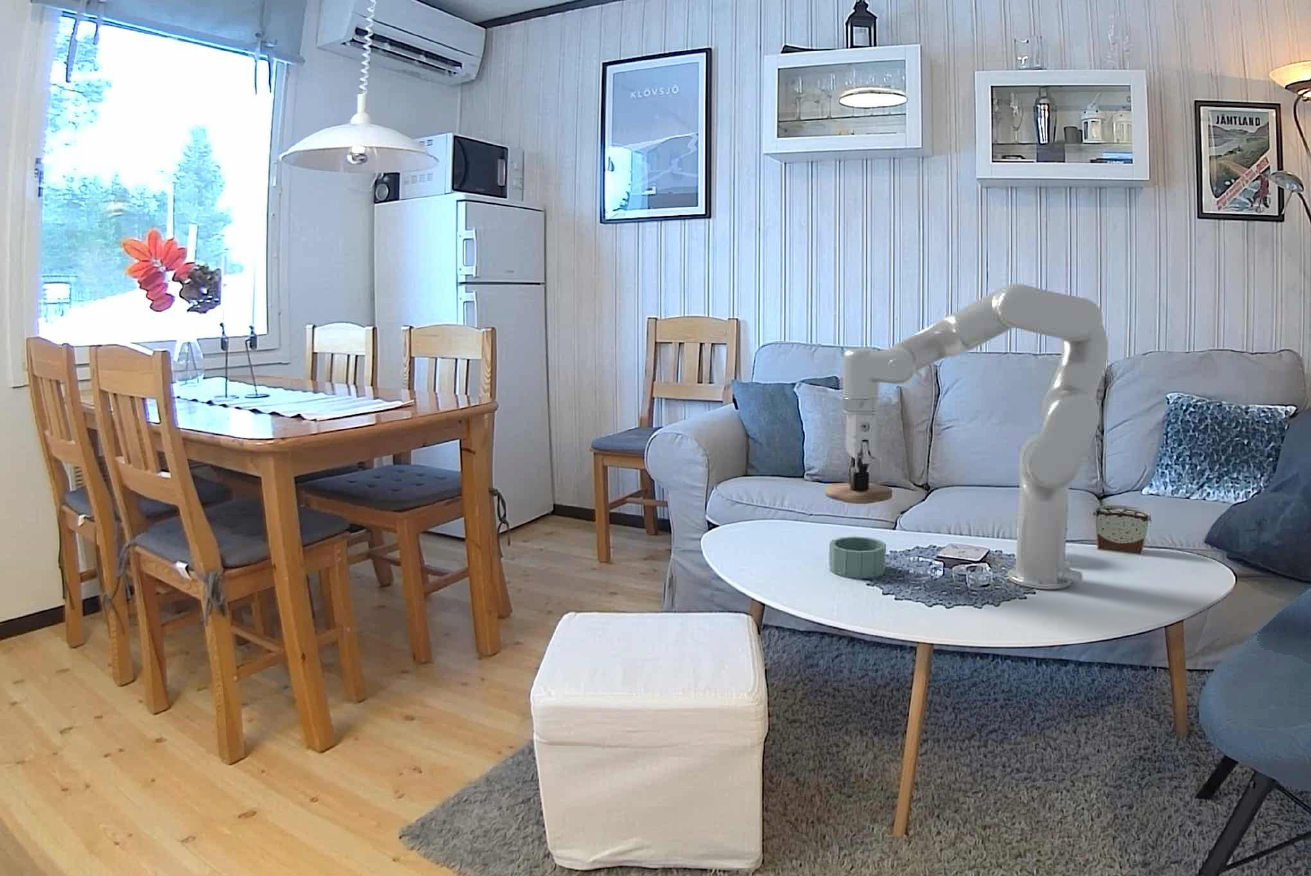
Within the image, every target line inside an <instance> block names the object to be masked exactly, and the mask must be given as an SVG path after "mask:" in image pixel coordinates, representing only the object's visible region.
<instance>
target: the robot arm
mask: <svg viewBox="0 0 1311 876" xmlns="http://www.w3.org/2000/svg"><path fill="white" fill-rule="evenodd" d="M1015 328H1016V329H1020V330H1023V331H1026V332H1031V333H1034V334H1039V335H1043V336H1048V337H1053V338H1057V339H1060V343H1061V356H1060V360H1059V362H1058V366H1057V368H1056V371H1055V373H1054V375H1053V376H1054V377H1053V378H1052V381H1051V382H1050V386H1049V388H1048V390H1047V393H1046V395H1045V397H1044V400H1043V401H1042V405H1041V415H1042V418H1043V424H1042V427H1041V429H1040V430H1039V433H1038V434H1034V435H1032V436H1030V437H1029V438H1028V439H1027V440H1026V441H1025V442H1024V443H1023V444H1022V447H1021V450H1020V454H1019V465H1018V467H1019V497H1018V498H1019V501H1018V515H1017V522H1018V534H1017V533H1016V538H1017V539H1016V540H1017V541H1016V557H1015V559H1016V560H1015V567H1013V568H1010V569H1009V570H1008V571H1007V578H1008V580H1009V581H1011V582H1012V583H1014V584H1017V585H1019V586H1022V587H1026V588H1029V589H1030V588H1031V589H1037V590H1038V589H1039V590H1040V589H1041V590H1060V589H1065V588H1068V587H1070V586H1071V585H1072V583H1077V584H1081V583H1082V582H1083V574H1082V573H1083V572H1082V571H1080V570H1074V569H1071V568H1070V563H1071V562H1069V561H1066V546H1067V544H1066V543H1067V532H1068V526H1067V525H1068V513H1069V495H1070V493H1069V492H1070V488H1069V484H1071V483H1072V482H1073V480H1075V478H1076V477H1077V475H1078V473H1079V472H1080V470H1081V468H1082V465H1083V463H1084V460H1085V458H1086V455H1087V453H1088V452H1089V451H1088V450H1089V448H1090V446H1091V444H1092V441H1093V439H1094V436H1095V433H1096V431H1097V429H1098V425H1099V421H1100V409H1099V405H1098V404H1097V401H1096V400H1095V397H1096V393H1097V391H1098V389H1099V385H1100V383H1101V380H1102V377H1103V374H1104V372H1105V368H1106V365H1107V361H1108V356H1109V342H1108V336H1107V333H1106V330H1105V327H1104V325H1103V314H1102V311H1101V309H1100V307H1099V306H1098V305H1097V303H1095V302H1094V301H1092V300H1090V299H1088V298H1084V297H1080V296H1075V295H1069V294H1066V293H1065V294H1064V293H1061V292H1056V291H1050V290H1047V289H1041V288H1039V287H1035V286H1031V285H1028V284H1022V283H1010V284H1007V285H1005V286H1003V287H1001V288H998V289H997V290H996V291H993V292H991V293H990V294H988V295H985V296H983V297H981V298H980V299H978V300H977V301H974V302H973V303H970V304H969V305H967V306H965V307H963V308H961V309H959V310H957V311H955V312H953V313H952V314H949V315H948V316H946V317H944V318H942V319H940V320H939V321H937V322H936V323H934V324H932V325H931V326H928V327H926V328H924V329H922V330H920V331H919V332H916V333H915V334H913V335H911V336H909V337H907V338H905V339H903V340H902V341H899V342H897V343H896V344H893V345H892V346H890V347H888V349H886V350H876V349H875V348H868V347H867V348H865V347H861V348H860V347H859V348H858V347H857V348H849V349H847V350H846V351H845V352H844V353H843V367H842V368H843V370H842V371H843V372H842V381H843V382H842V413H843V414H846V423H845V424H846V425H845V428H846V429H845V449H846V452H847V453H848V455H849V470H848V471H849V472H848V473H849V474H848V475H849V476H848V477H849V478H848V479H849V480H848V482H849V485H850V478H851V467H855V472H854V485H853V489H854V490H855V491H867V490H868V489H869V483H870V479H869V478H870V458H871V459H872V460H876V459H877V456H878V454H877V453H878V450H877V448H878V447H877V421H876V414H878V413H879V392H880V391H879V390H880V387H879V385H880V384H879V383H884V384H891V385H902V384H905V383H908V382H910V380H912V378H913V377H914V376H915V374H916V372H918V371H920V370H921V369H923V368H926V367H927V366H930V365H931V364H933V363H934V364H935V363H936V362H937V361H938V362H939V361H940V360H943V359H946V358H949V357H951V356H956V355H961V354H964V353H967V352H970V351H972V350H974V349H976V348H978V347H979V346H982V345H984V344H985V343H987V342H989V341H991V340H994V339H995V338H997V337H999V336H1002V335H1003V334H1005V333H1007V332H1009V331H1011V330H1013V329H1015ZM1066 531H1067V532H1066Z"/></svg>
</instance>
